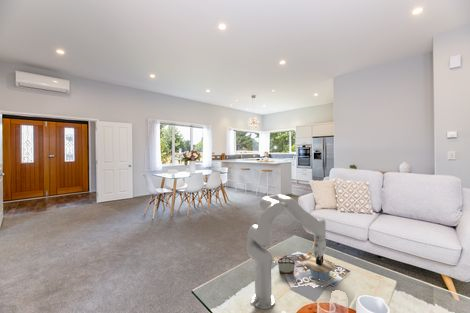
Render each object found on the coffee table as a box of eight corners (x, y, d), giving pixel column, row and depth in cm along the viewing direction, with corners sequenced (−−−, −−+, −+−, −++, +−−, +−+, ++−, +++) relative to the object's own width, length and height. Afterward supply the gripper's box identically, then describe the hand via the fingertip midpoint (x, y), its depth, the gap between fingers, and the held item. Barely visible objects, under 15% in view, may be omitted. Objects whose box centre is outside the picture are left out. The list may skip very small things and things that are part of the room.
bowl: (325, 284, 136) (325, 275, 135) (307, 276, 144) (307, 268, 144) (332, 275, 144) (332, 267, 144) (314, 268, 153) (314, 260, 152)
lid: (327, 275, 132) (327, 266, 132) (303, 266, 144) (303, 257, 143) (336, 264, 144) (336, 256, 144) (313, 256, 155) (313, 248, 155)
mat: (315, 303, 120) (315, 302, 120) (289, 290, 131) (289, 289, 131) (326, 288, 132) (326, 287, 132) (301, 278, 143) (301, 276, 143)
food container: (294, 270, 151) (293, 257, 151) (295, 275, 145) (295, 261, 145) (276, 270, 153) (276, 256, 152) (277, 275, 146) (277, 261, 146)
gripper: (320, 243, 134) (320, 271, 135) (329, 234, 146) (329, 260, 147) (308, 239, 139) (308, 266, 140) (318, 231, 151) (319, 256, 152)
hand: (319, 263), depth 144 cm, fingers closed on lid, 3 cm apart
